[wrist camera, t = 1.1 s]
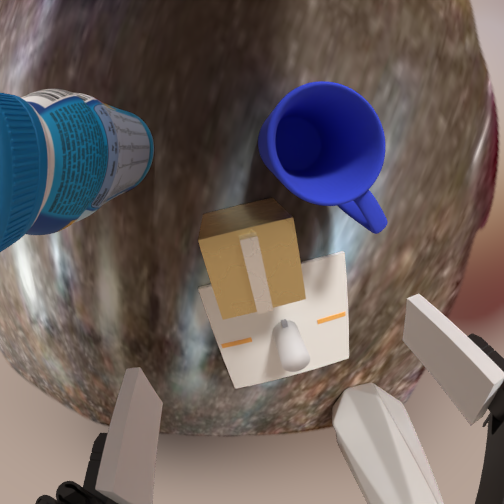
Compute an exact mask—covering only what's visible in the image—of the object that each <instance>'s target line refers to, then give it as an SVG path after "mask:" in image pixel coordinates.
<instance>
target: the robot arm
mask: <svg viewBox="0 0 504 504" xmlns="http://www.w3.org/2000/svg"><path fill="white" fill-rule="evenodd" d="M403 341H404V342H405V344H406V345H407V346H408V347H409V348H410V349H411V351H412V352H413V353H414V354H415V355H416V357H417V358H418V359H419V360H420V361H421V363H422V364H423V365H424V366H425V368H426V369H427V370H428V371H429V372H430V373H431V375H432V376H433V377H434V379H435V380H436V381H437V382H438V384H439V385H440V386H441V387H442V389H443V390H444V391H445V393H446V394H447V395H448V396H449V398H450V399H451V400H452V401H453V403H454V404H455V405H456V407H457V408H458V409H459V411H460V412H461V413H462V414H463V416H464V417H465V419H466V420H467V421H468V423H469V424H470V425H472V424H474V423H475V422H476V421H478V420H479V419H480V418H482V417H483V415H484V414H485V412H486V411H487V409H489V411H490V414H489V415H488V417H487V419H486V420H485V422H484V423H483V427H485V426H486V424H487V423H488V434H487V443H486V451H485V458H484V465H483V470H482V475H481V481H480V485H479V490H478V494H477V498H476V502H475V504H504V358H502V357H501V356H500V355H499V354H498V353H497V352H496V351H494V349H493V348H492V347H491V346H489V345H488V343H487V342H486V341H484V340H483V339H482V338H481V337H479V336H477V335H474V334H470V335H469V336H466V335H465V334H464V333H463V332H462V331H461V330H460V329H459V328H458V327H457V326H455V325H454V324H453V323H452V322H451V321H450V320H449V319H448V318H447V317H445V316H444V315H443V314H442V313H441V312H440V311H439V310H437V309H436V308H435V307H434V306H433V305H432V304H431V303H429V302H428V301H427V300H426V299H425V298H423V297H422V296H421V295H420V294H417V295H414V296H412V297H409V298H407V306H406V316H405V325H404V334H403ZM162 406H163V402H162V401H161V399H160V398H159V396H158V395H157V393H156V392H155V390H154V389H153V387H152V386H151V384H150V382H149V381H148V379H147V378H146V376H145V374H144V373H143V371H142V369H141V368H140V367H136V368H129V369H126V372H125V375H124V378H123V381H122V385H121V388H120V391H119V394H118V398H117V401H116V405H115V408H114V412H113V415H112V419H111V423H110V426H109V431H108V433H100V434H99V436H98V437H97V438H96V440H95V441H94V444H93V448H92V453H91V456H90V461H89V464H88V468H87V472H86V476H85V481H84V485H83V487H81V486H80V485H78V484H77V483H75V482H73V481H67V482H63V483H62V484H61V485H60V486H59V487H58V489H57V491H56V498H57V500H55V499H54V498H52V497H50V496H48V495H43V496H40V497H39V498H38V499H37V501H36V504H152V502H153V488H154V476H155V465H156V454H157V445H158V437H159V429H160V421H161V413H162ZM488 421H489V422H488Z"/></svg>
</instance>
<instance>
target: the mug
mask: <svg viewBox="0 0 504 504" xmlns="http://www.w3.org/2000/svg"><path fill="white" fill-rule="evenodd" d="M258 148H259V153H260V156H261V158H262V160H263V162H264V164H265V165H266V166H267V168H268V169H269V170H270V171H271V172H272V173H273V174H274V175H275V176H276V177H277V178H278V179H279V181H280V182H281V183H282V184H283V185H284V186H285V187H286V188H287V189H288V190H289V191H290V192H292V193H293V194H294V195H296V196H297V197H299V198H301V199H303V200H305V201H307V202H309V203H313V204H316V205H322V206H336V205H337V206H338V207H339V208H340V209H342V210H343V211H344V212H345V213H346V214H348V215H349V216H350V217H352V218H353V219H354V220H355V221H357V222H358V223H360V224H361V225H362V226H364V227H365V228H367V229H368V230H369V231H371V232H372V233H375V234H377V233H379V232H381V231H382V230H383V229H384V228H385V227H386V225H387V219H386V217H385V215H384V213H383V211H382V209H381V207H380V206H379V204H378V202H377V200H376V199H375V197H374V196H373V195H372V193H371V192H370V191H369V188H370V187H371V186H372V185H373V183H374V182H375V181H376V179H377V177H378V175H379V173H380V171H381V169H382V166H383V162H384V157H385V136H384V131H383V128H382V125H381V122H380V120H379V118H378V116H377V114H376V112H375V111H374V109H373V108H372V106H371V105H370V104H369V103H368V102H367V100H365V99H364V98H363V97H362V96H361V95H360V94H358V93H357V92H356V91H354V90H352V89H350V88H349V87H346V86H344V85H341V84H338V83H333V82H312V83H308V84H305V85H302V86H300V87H297V88H296V89H294V90H292V91H291V92H289V93H288V94H287V95H286V96H285V97H284V98H283V99H282V100H281V101H280V102H279V103H278V105H277V106H276V107H275V109H274V110H273V111H272V112H271V114H270V115H269V116H268V118H267V119H266V120H265V122H264V123H263V125H262V127H261V129H260V132H259V137H258Z"/></svg>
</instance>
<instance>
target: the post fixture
mask: <svg viewBox="0 0 504 504" xmlns="http://www.w3.org/2000/svg"><path fill="white" fill-rule="evenodd" d="M301 268H302V275H303V281H304V288H305V295H306V299H304V300H301V301H297V302H293V303H289V304H286V305H282V306H278V307H274V308H273V311H270V312H266V313H262V314H258V313H257V312H254V313H250V314H246V315H242V316H237V317H233V318H229V319H224V320H223V319H222V316H221V313H220V310H219V307H218V304H217V301H216V298H215V295H214V291H213V288H212V285H211V284H209V285H205V286H201V287H198V290H199V293H200V296H201V299H202V302H203V305H204V308H205V311H206V313H207V316H208V319H209V322H210V325H211V327H212V330H213V333H214V336H215V338H216V341H217V344H218V346H219V349H220V351H221V354H222V357H223V359H224V362H225V364H226V367H227V369H228V372H229V375H230V377H231V380H232V382H233V384H234V387H235V389H237V388H242V387H246V386H251V385H255V384H260V383H264V382H268V381H272V380H277V379H280V378H284V377H288V376H292V375H296V374H299V373H303V372H306V371H310V370H313V369H316V368H320V367H323V366H326V365H329V364H332V363H336V362H339V361H342V360H345V359H348V358H349V324H348V297H347V279H346V265H345V253H344V252H343V251H341V252H337V253H333V254H330V255H326V256H322V257H318V258H314V259H310V260H306V261H303V262H301Z"/></svg>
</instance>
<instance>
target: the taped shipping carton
mask: <svg viewBox="0 0 504 504" xmlns="http://www.w3.org/2000/svg"><path fill="white" fill-rule="evenodd" d="M198 242H199V246H200V249H201V252H202V256H203V259H204V262H205V266H206V269H207V272H208V275H209V279H210V282H211V285H212V288H213V291H214V295H215V298H216V301H217V304H218V307H219V310H220V313H221V316H222V319H223V320H224V319H229V318H233V317H237V316H242V315H246V314H250V313H254V312H257V313H258V314H262V313H266V312H270V311H273V308H274V307H278V306H282V305H286V304H289V303H293V302H297V301H301V300H304V299H306V295H305V288H304V281H303V275H302V268H301V261H300V255H299V249H298V243H297V237H296V231H295V225H294V219H293V217H292V216H291V215H290V214H289V213H288V212H287V211H286V210H285V209H284V208H283V207H282V206H281V205H280V204H279V203H278V202H276V201H275V200H274V199H273V198H268V199H263V200H259V201H255V202H250V203H246V204H242V205H238V206H233V207H229V208H225V209H221V210H217V211H213V212H209V213H205V214H203V218H202V223H201V227H200V232H199V238H198Z"/></svg>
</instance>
